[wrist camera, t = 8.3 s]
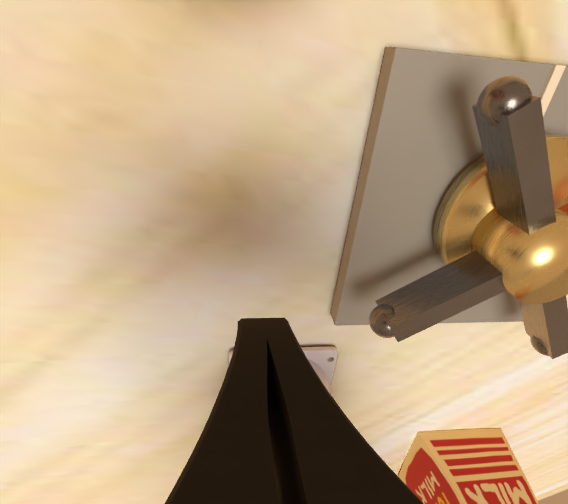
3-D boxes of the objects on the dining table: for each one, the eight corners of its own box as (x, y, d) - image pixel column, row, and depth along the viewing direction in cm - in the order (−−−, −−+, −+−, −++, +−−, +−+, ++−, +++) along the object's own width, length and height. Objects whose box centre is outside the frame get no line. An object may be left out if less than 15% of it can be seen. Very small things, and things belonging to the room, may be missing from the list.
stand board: (532, 310, 26) (546, 322, 25) (330, 313, 24) (335, 327, 23) (677, 67, 18) (708, 70, 17) (388, 35, 16) (400, 35, 14)
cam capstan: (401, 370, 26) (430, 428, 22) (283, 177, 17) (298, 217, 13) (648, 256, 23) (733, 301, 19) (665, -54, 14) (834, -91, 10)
